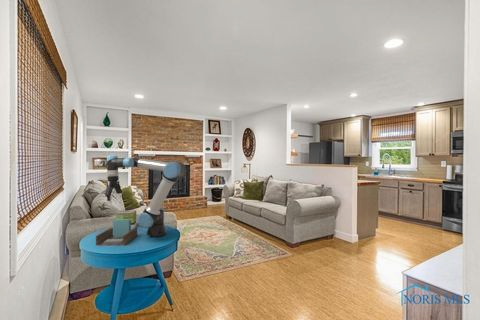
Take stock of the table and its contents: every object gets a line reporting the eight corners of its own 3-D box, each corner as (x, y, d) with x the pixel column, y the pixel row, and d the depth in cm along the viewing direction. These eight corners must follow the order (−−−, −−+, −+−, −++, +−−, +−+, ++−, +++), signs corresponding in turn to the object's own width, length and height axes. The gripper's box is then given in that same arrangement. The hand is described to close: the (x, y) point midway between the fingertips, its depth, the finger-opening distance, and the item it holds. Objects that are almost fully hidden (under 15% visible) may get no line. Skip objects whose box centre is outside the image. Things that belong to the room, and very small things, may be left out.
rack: (137, 237, 190) (137, 227, 190) (124, 247, 169) (124, 235, 169) (111, 237, 190) (111, 227, 190) (95, 247, 170) (95, 235, 169)
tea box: (115, 229, 210) (115, 213, 210) (119, 226, 220) (118, 210, 220) (134, 228, 213) (133, 212, 213) (136, 225, 223) (136, 209, 223)
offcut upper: (124, 241, 177) (124, 238, 177) (121, 244, 172) (121, 241, 172) (107, 242, 176) (107, 239, 176) (104, 244, 171) (104, 241, 171)
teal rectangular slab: (130, 238, 188) (130, 219, 188) (129, 239, 185) (128, 220, 185) (115, 238, 188) (115, 219, 188) (113, 239, 185) (113, 220, 185)
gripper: (116, 174, 197) (117, 200, 198) (98, 177, 173) (100, 206, 173) (125, 174, 198) (126, 200, 198) (109, 176, 173) (110, 206, 173)
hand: (114, 203), depth 185 cm, fingers open, 13 cm apart
